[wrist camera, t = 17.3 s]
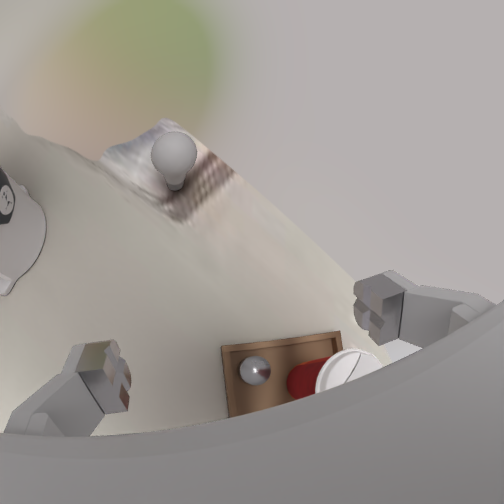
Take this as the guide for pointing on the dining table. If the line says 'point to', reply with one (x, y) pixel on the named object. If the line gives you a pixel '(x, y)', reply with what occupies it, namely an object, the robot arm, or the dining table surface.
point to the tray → (281, 362)
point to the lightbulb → (174, 157)
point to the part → (254, 370)
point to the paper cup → (330, 372)
